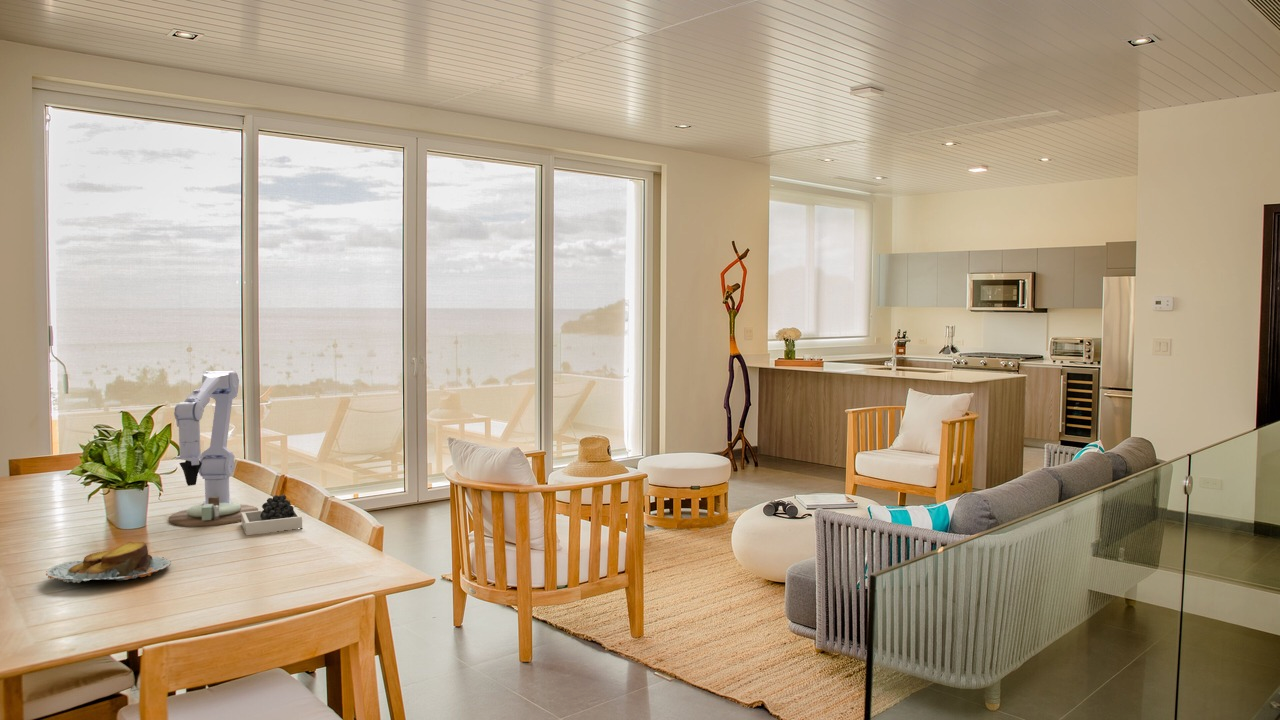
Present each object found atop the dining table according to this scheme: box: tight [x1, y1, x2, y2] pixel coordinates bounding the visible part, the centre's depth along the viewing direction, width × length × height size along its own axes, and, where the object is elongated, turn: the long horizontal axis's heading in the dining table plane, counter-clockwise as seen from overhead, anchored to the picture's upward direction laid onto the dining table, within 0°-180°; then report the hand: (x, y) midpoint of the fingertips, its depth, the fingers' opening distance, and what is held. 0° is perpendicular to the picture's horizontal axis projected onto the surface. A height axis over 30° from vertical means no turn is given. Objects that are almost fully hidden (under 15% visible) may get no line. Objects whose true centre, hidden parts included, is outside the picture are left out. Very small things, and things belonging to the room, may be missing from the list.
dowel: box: [212, 505, 220, 521], centre depth 263 cm, size 2×2×5 cm
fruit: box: [260, 494, 294, 521], centre depth 259 cm, size 9×8×15 cm
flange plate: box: [186, 502, 242, 520], centre depth 269 cm, size 20×15×4 cm
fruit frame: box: [240, 506, 303, 536], centre depth 259 cm, size 15×15×4 cm
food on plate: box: [45, 541, 172, 584], centre depth 212 cm, size 26×26×7 cm
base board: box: [168, 496, 259, 528], centre depth 271 cm, size 25×25×6 cm
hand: (191, 485), depth 269 cm, fingers closed
